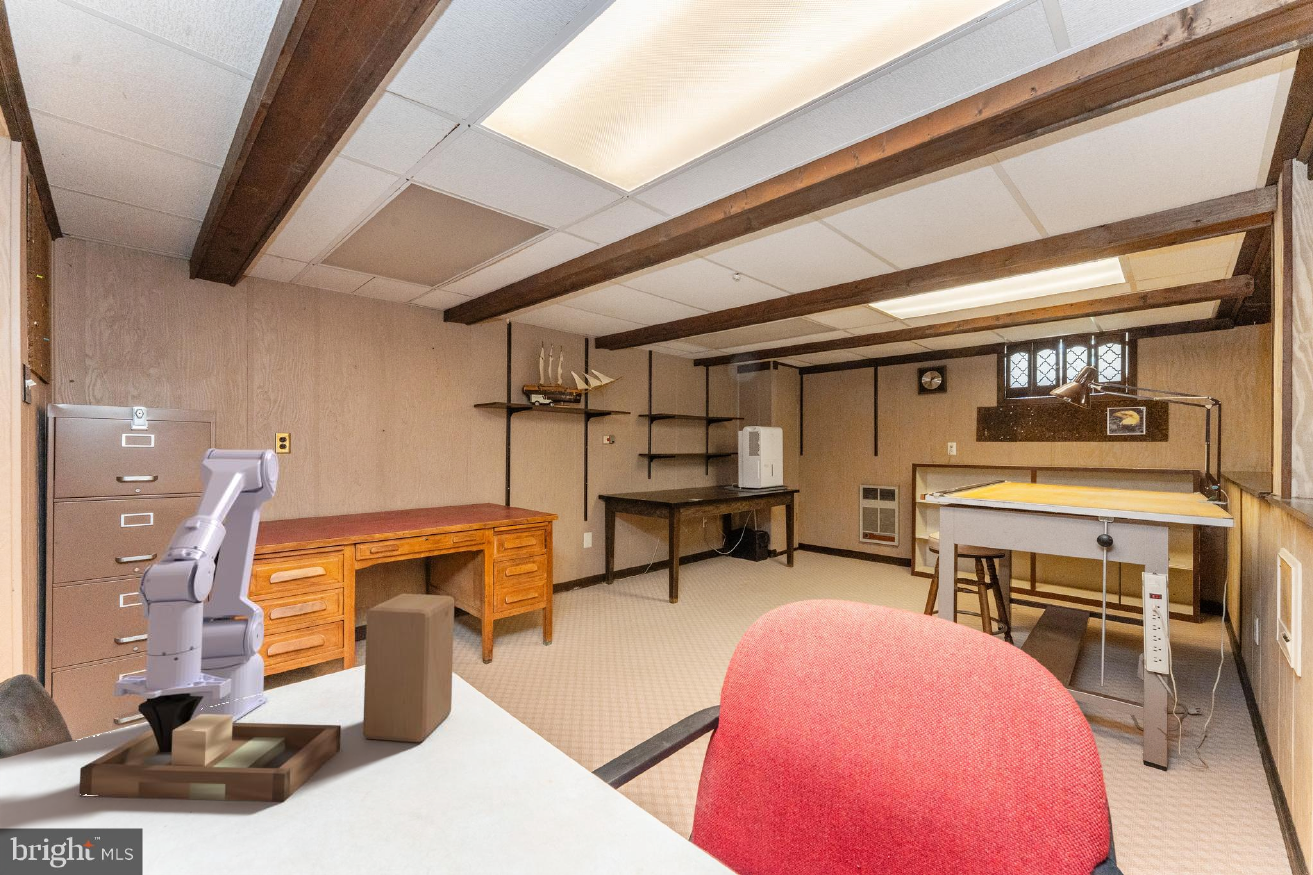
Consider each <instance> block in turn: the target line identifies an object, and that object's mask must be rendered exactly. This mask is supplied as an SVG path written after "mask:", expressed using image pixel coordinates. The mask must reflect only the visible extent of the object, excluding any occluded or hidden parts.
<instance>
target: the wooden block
mask: <svg viewBox="0 0 1313 875" xmlns="http://www.w3.org/2000/svg"><path fill="white" fill-rule="evenodd" d="M454 621H455V599H454V596H450V595H439V594H438V595H437V594H420V593H419V594H418V593H417V594H416V593H401V594H399V595H396V596H394V597H392V598H390V599H388V600H386V601H384V602H382V603H381V602H380V603H379V604H377V605H374V606H373V607H370V608H369V609H368V611H367V613H366V628H365V630H366V631H365V632H366V633H365V660H364V661H365V663H364V664H365V666H364V692H363V693H364V694H363V695H364V696H363V720H362V721H363V722H362V725H363V726H362V727H363V728H362V731H363V732H362V734H363V737H364V738H366V739H368V740H369V739H370V740H371V739H372V740H383V741H393V742H394V741H397V742H408V743H409V742H410V743H420V742H423V741H425V740H426V739H427V738H428V737H429V736H430V735H431V734H432V733H433V732H434V731H435V730H436V729H437V728H439V726H440V725H441V724H442V722H444V721H445V720H446V719H447V718H448V717H449V716H450V713H451V712H452V696H453V694H452V693H453V691H452V690H453V662H454V661H453V660H454V656H453V655H454V654H453V653H454V628H455V627H454V626H455V622H454Z"/></svg>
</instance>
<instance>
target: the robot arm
mask: <svg viewBox="0 0 1313 875" xmlns="http://www.w3.org/2000/svg"><path fill="white" fill-rule="evenodd" d="M279 470H280V469H279V458H278V455H277V453H276V452H275V451H274V450H273V449H270V448H268V449H218V448H213V447H211V448H209V449H207V450H206V451H205V452H204V453H203V455H202V457H201V459H200V462H199V474H200V477H201V481H202V485H203V489H202V491H201V494H200V498H199V499H198V502H197V505H196V508H195V511H194V513H193V516H192V517H187V518H186V519H183V520H182V521H181V522H180V523H179V525H178V526H177V528H176V530H175V532H174V534H173V535H172V538H171V540H170V541H169V542H168V543H169V544H168V545H167V547H166V549H165V551H164V553H163V554H162V556H161V558H160V559H159V561H156V562H155V563H154V564H153V565H149V566H147V567H146V568H145V570H144V571H143V573H142V575H141V578H140V581H139V587H138V588H137V589H138V592H137V594H138V598H139V601H140V602H141V603H140V604H142V616H143V618H144V619H146V620H147V633H146V635H147V639H146V658H145V659H146V660H145V661H146V662H145V675H134V676H133V675H132V676H131V675H128V676H126V677H124V678H122V679H119V680H117V681H115V682H114V697H123V696H126V695H140V696H139V697H140V699H146V700H145V701H144V702H141V703H139V705H138V710H137V711H138V712H139V713H140V714H141V715H142V716H143V717H144V718H145V720H146V721H147V722H148V724H149V726H150V727H151V729H152V730H153V732H154V735H155V738H156V741H157V744H158V747H159V750H160V752H171V751H172V734H173V730H174V729H176V728H178V727H180V726H181V725H183V724H185V723H187V722H188V721H190V720H192V719H194V718H195V717H197V716H199V715H200V714H216V715H233V720H232V723H235V722H236V721H238V720H239V719H241V718H242V717H244V716H245V715H247V714H248V713H250V712H252V711H253V710H255V709H256V708H258V707H259V706H261V705H262V704H264V703H266V702H268V700H269V697H266V696H264V685H265V684H264V683H265V679H264V677H265V663H264V662H265V661H264V659H263V657H262V656H261V654H260V653H258V652H259V651H260V649H261V648H262V644H263V642H264V636H265V625H264V618H265V613H264V610H263V609H262V608H261V606H259V605H258V604H257V603H255V602H253V601H252V600H250V599H249V598H248V593H249V587H250V581H251V574H252V568H253V562H254V556H255V552H256V551H255V549H256V543H257V537H258V533H259V532H258V530H259V526H260V525H259V524H260V518H261V513H262V509H263V505H264V503H266V502H268V501H269V500H271V499H274V496H275V492H276V490H277V484H278V478H279ZM224 520H225V521H224ZM223 521H224V525H223ZM218 552H219V554H218ZM217 554H218V558H217V559H218V560H217V564H215V559H216V557H217ZM214 574H215V575H214ZM211 590H212V592H211ZM210 592H211V598H210V600H208V601H207V602H205V603H204V601H205V600H206V599H207V597H208V596H209V594H210ZM238 617H239V618H238ZM240 617H246V618H240ZM224 618H225V619H224ZM226 618H233V619H226ZM235 618H236V619H235ZM216 619H217V620H216ZM220 619H221V620H220ZM261 693H263V694H262V695H257V694H261ZM252 695H256V696H254V697H249V696H252ZM244 697H249V698H245V699H243V698H244ZM236 699H238V700H236ZM235 700H236V701H235ZM226 702H229V703H226ZM222 703H225V704H222ZM218 704H220V705H218ZM215 705H217V706H215ZM210 706H213V707H210ZM202 708H203V709H202ZM201 709H202V710H201Z"/></svg>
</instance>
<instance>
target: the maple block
mask: <svg viewBox="0 0 1313 875" xmlns="http://www.w3.org/2000/svg"><path fill="white" fill-rule="evenodd" d="M232 720H233V715H216V714H200V715H199V716H197V717H195V718H194V719H192V720H190V721H188V722H187V723H185V724H183V725H181V726H180V727H178V728H176V729H174V730H173V734H172V760H171V765H201V766H205V765H206V764H208V763H209V762H211V761H212V760H214V759H215V758H217V757H218V756H219V755H221V754H222V753H224V752H225V751H227V750H228V749H230V748H231V747H232Z"/></svg>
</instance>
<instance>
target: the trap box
mask: <svg viewBox="0 0 1313 875" xmlns="http://www.w3.org/2000/svg"><path fill="white" fill-rule="evenodd" d="M341 726H342V725H340V724H339V725H338V724H337V725H336V724H304V723H303V724H302V723H299V724H298V723H297V724H296V723H268V722H267V723H263V722H262V723H259V722H233V723H232V747H231V748H230V749H228V750H227V751H225V752H224V753H222V754H221V755H219V756H218V757H217V758H215V759H214V760H212V761H211V762H209V763H208V764H206V765H205V766H201V765H171V760H172V751H171V752H160V750H159V747H158V744H157V741H156V738H155V735H154V732H153V730H152V728H151V729H149V730H147V731H145V732H143V733H142V734H140V735H138V736H137V737H134V738H133V739H131V740H129V741H127V742H126V743H124V744H122V745H120V746H118V747H116V748H114V749H113V750H111V751H109V752H107V753H106V754H104V755H101V756H100V757H98V758H96V759H95V760H93V761H91V762H89V763H87V764H85V765H83V766H82V767H80V768H79V769H80V770H79V791H78V792H79V794H81V795H85V794H87V795H98V796H102V797H101V798H125V799H126V798H130V799H131V798H132V799H163V800H164V799H165V800H166V799H170V800H171V799H172V800H174V799H175V800H208V801H212V800H213V801H238V802H240V801H243V802H248V801H249V802H275V803H276V802H278V803H279V802H281V803H283V802H284V803H285V801H286V800H288V799H289V798H290V797H291V795H293V793H295V792H296V791H297V790H298V789H300V787H301V786H303V785H304V784H305V782H307V781H308V780H309V779H310V778H311V777H313V775H314V774H315V773H316V772H317V771H318V770H320V769H321V768H322V767H323V766H324V765H325V764H326V763H327V762H328V761H330V759H331V758H332V757H333V756H335V755H336V754H337V753H338V752H339V751H340V750H341V733H342V732H341V730H342V727H341ZM79 794H78V795H79ZM104 796H105V797H104Z"/></svg>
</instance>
